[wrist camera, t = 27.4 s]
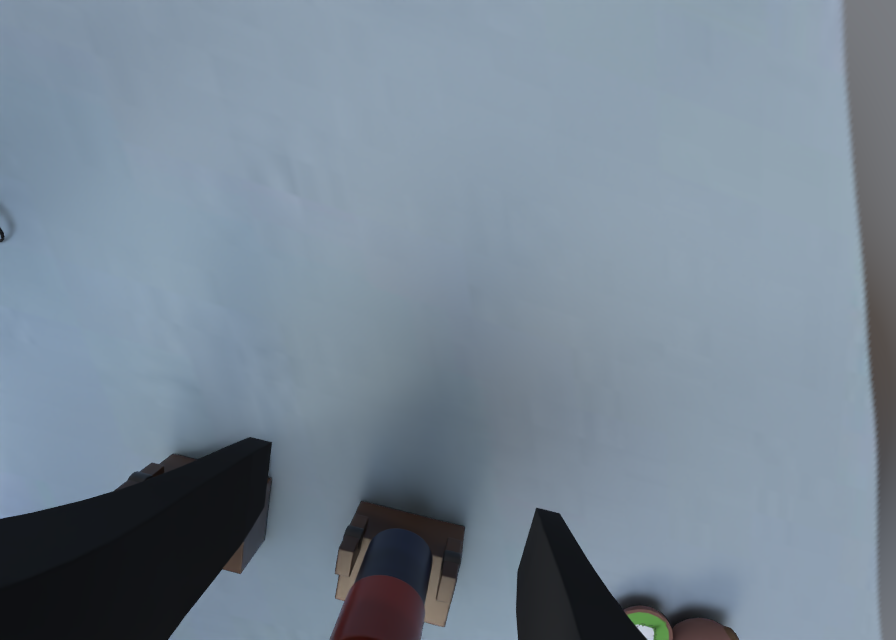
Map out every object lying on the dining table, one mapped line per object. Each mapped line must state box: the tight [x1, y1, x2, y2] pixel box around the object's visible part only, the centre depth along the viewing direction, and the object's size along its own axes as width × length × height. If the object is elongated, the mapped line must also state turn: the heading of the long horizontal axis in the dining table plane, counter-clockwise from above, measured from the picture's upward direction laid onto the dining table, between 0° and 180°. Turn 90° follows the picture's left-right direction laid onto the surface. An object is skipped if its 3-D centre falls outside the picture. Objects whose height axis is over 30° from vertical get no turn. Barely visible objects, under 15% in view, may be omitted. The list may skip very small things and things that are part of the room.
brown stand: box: [335, 501, 465, 627], centre depth 21 cm, size 5×6×8 cm
